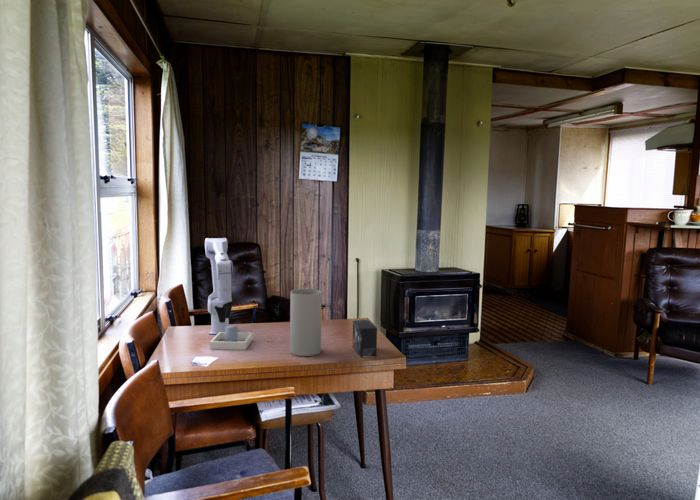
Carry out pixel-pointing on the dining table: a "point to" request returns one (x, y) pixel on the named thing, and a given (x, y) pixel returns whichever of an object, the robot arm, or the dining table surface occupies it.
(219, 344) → the grey shallow square tray
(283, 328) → the dining table surface
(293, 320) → the cylinder vase
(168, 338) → the dining table surface
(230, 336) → the cylinder
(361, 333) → the small box
